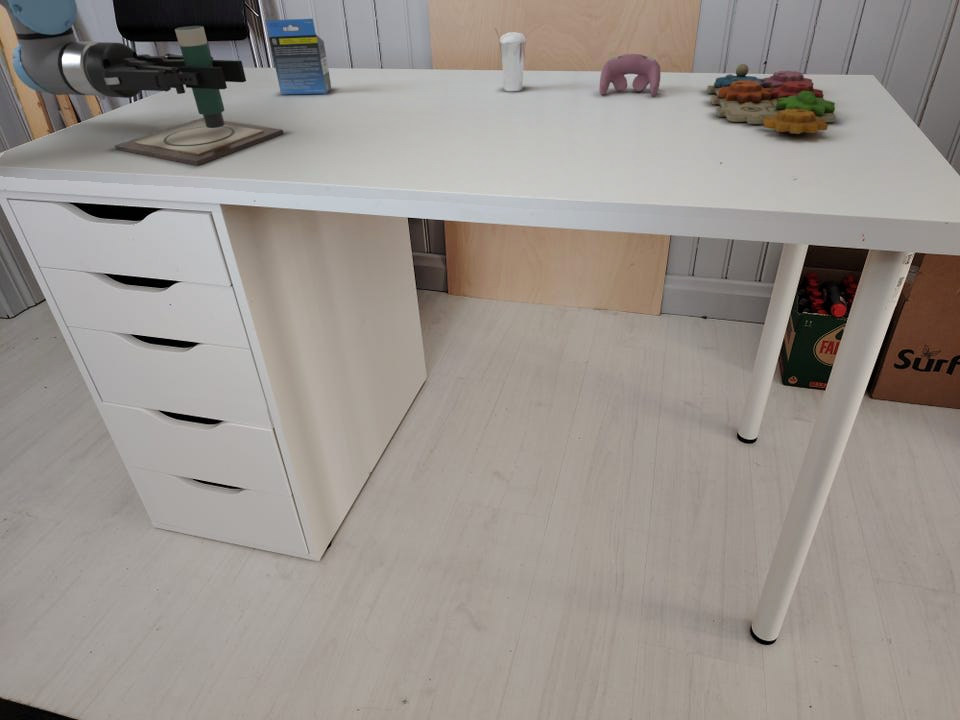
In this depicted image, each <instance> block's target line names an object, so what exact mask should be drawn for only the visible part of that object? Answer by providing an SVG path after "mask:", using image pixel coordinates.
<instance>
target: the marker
mask: <svg viewBox="0 0 960 720" xmlns="http://www.w3.org/2000/svg"><path fill="white" fill-rule="evenodd" d="M174 31H175V34H176V35H175V36H176V38H177V42H178V45H179V48H180V51H181V55H183V59H184V62H185V66H204V67H213V63H212V60H211V57H212V56H211V52H210V49H209V44H208V40H207V36H206V32H205V28H204V26H202V25H191V26H182V27H177V28H175V29H174ZM220 90H221V89H204V88H191V91H192V94H193V97H194V101H195V105H196V108H197V111H198V114H199V115H202V116H203V118H204V120H205V124H206V127H207V128H217V127H221V126H224V121H225V119H224V116H223V112H225V106H224V101H223V98H222V95H221V91H220Z"/></svg>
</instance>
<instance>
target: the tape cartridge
mask: <svg viewBox="0 0 960 720" xmlns="http://www.w3.org/2000/svg"><path fill="white" fill-rule="evenodd" d="M264 22H265V26H266V30H267V34H268V40H269V44H270V49H271V53H272V58H273V63H274V67H275V72H276V73H275V74H276V77H277V82H278V87H279V91H280V95H281V96H285V95H288V96H289V95H308V94H309V95H310V94H311V95H313V94H314V95H315V94H317V95H319V94H323V95H326V94H328V93H329V92H330V91H331V90H332V83H331V77H330V71H329V64H328V58H327V53H326V46H325V42H324V40H323V39H322V38H321V37H319V35H317V33H316V28H315V24H314V23H315V22H314V18H293V19H292V18H291V19H266V20H264ZM289 26H291V27H292V28H298V29H297V30H284V28H289Z"/></svg>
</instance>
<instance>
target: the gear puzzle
mask: <svg viewBox="0 0 960 720" xmlns="http://www.w3.org/2000/svg"><path fill="white" fill-rule="evenodd" d="M748 73H749V66H748V65H747V64H746V63H741V64H739V65H738V66H737V67H736V68H735V75H734V74H731V73H729V74H726V75H725V76H721V77H716V78H715V81H714V83H713V85H707V89H706V91H707V93H708V94H716V95H711V97H710V103H711V105H718V106H719V105H720V107H717V108H716V111H715V114H716V116H717V117H718V118H719V117H720V118H726V119H727V121H729V122H731V123H747V124H748V125H763V128H765V129H773V130H775V132H777V133H783V132H788V133H789V134H790V135H800V134H802V133H808V134H817V133H818V131H827V130H828V126H829V125H828V123H833V122H835V121H836V117H837V115H836V114H835V110H836V107H835V105H836V103H835V101H830V100H826V99H825V98H824V96H825V95H824V91H823V90H822V89H817V88H814V82H813V79H811V78H807V77H804V74H803V72H798V70H797V71H796V70H779V71H775V72H774V73H773V74H772V75H770V76H769V77H763V78H760V77H759V78H758V77H757V76H754V75H753V76H752V75H751V76H750V75H748Z"/></svg>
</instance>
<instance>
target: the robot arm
mask: <svg viewBox="0 0 960 720" xmlns="http://www.w3.org/2000/svg"><path fill="white" fill-rule="evenodd" d="M0 6H2V7H3V8H4V9H5V10H6V13H7V15H8V17H9V19H10V22H11V24H12V26H13V30H14V31H15V35H16V37H17V41H18V44H17V45H16V46H15V47H14V49H13V52H12V67H13V70H14V72H15V74H16V76H17V77H18V79H19V80H20V81H21V82H22V83H23V85H25V86H27V87H28V88H29V89H31V90H33V91H36V92H40V93H45V94H46V93H47V94H51V95H56V96H63V95H70V96H71V95H72V96H73V95H74V96H92V97H93V96H96V97H97V98H98V99H99V100H100V101H103V100H105V99H106V97H109V98H119V99H120V98H121V99H130V98H133V97H136V96H137V95H139V94H140V92H141V91H149V92H150V91H152V92H165V93H166V92H169V91H171V90H172V89H175V90H176V91H175V92H176V94H177V95H182V94H185V93H186V89H192V88H204V89H219V90H226V89H228V86H227V83H245V82H247V78H246V73H245V69H244V65H243V61H242V60H229V59H228V60H227V59H226V60H225V59H214V57H213V56H211V60H212V63H213V67H204V66H185V62H184V59H183V55H182V54H181V55H180V54H174V53H165V54H164V55H153V56H152V55H150V54H148V53H147V54H144V53H143V54H138V53H136V51H135V50H134V49H133V48H131V47H130V46H128V44H124V43H122V42H105V41H103V42H100V41H77V38H76V36H75V33H74V30H73V25H74V23H75V21H76V19H77V14H78V7H77V1H76V0H0Z"/></svg>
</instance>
